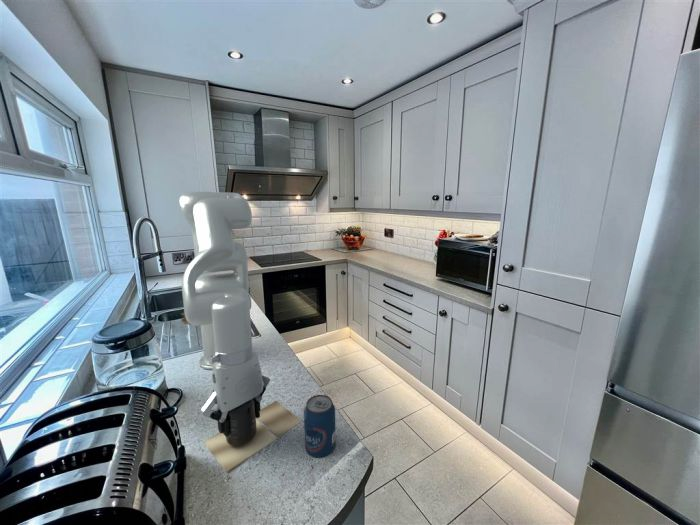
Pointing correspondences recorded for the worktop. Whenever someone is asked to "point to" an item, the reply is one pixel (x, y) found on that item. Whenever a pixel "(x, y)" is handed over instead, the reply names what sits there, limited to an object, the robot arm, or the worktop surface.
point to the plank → (238, 447)
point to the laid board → (278, 418)
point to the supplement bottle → (242, 424)
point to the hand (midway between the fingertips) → (240, 423)
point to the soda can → (319, 426)
